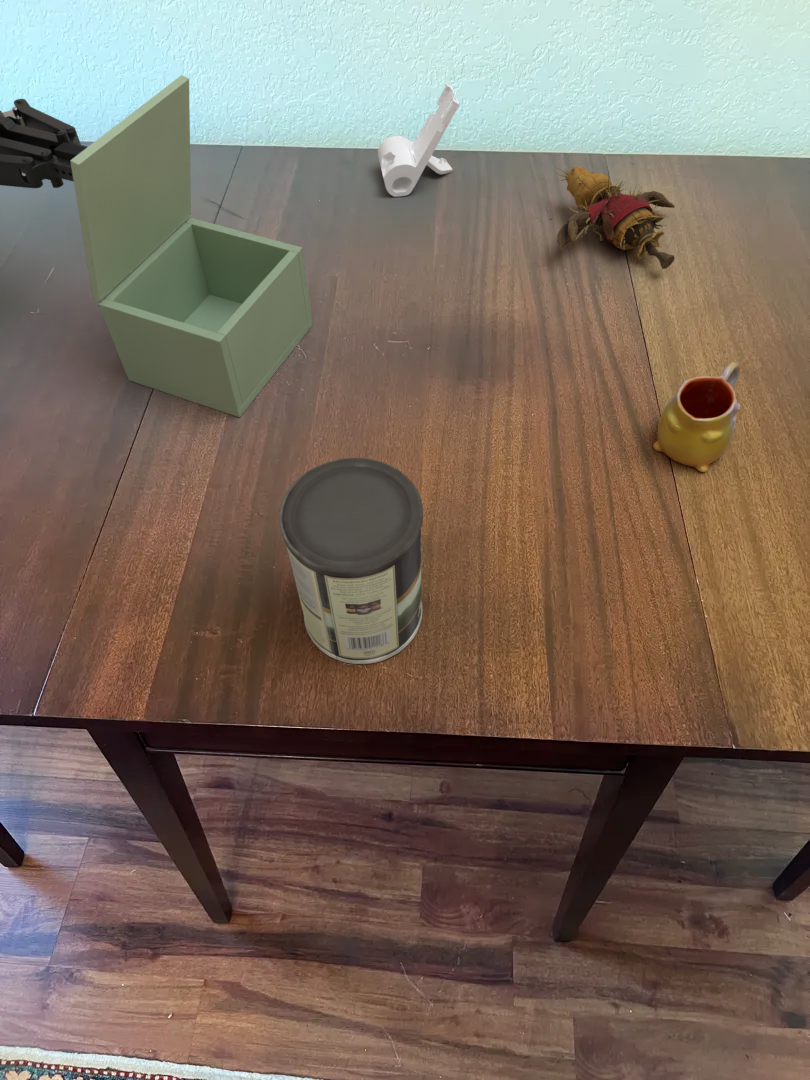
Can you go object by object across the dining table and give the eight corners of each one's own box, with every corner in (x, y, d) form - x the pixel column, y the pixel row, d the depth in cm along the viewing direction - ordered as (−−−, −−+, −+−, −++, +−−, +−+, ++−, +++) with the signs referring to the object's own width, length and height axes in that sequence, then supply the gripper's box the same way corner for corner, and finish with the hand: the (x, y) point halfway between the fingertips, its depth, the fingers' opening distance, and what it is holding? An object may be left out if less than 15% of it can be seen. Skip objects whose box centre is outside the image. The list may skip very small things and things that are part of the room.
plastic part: (378, 168, 108) (373, 79, 99) (449, 161, 109) (451, 72, 99) (385, 198, 104) (381, 107, 94) (458, 190, 104) (461, 99, 95)
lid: (189, 78, 71) (181, 74, 71) (78, 164, 63) (69, 160, 63) (191, 214, 84) (184, 211, 84) (99, 301, 76) (92, 297, 76)
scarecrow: (670, 207, 102) (688, 147, 96) (675, 282, 92) (695, 221, 86) (540, 196, 104) (549, 136, 97) (531, 268, 94) (540, 207, 88)
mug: (702, 483, 75) (724, 435, 69) (639, 448, 77) (656, 399, 72) (759, 414, 80) (784, 364, 74) (698, 384, 82) (718, 333, 77)
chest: (313, 324, 89) (302, 247, 81) (239, 417, 81) (219, 341, 72) (209, 294, 92) (188, 217, 84) (128, 380, 84) (97, 303, 76)
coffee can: (379, 543, 71) (372, 436, 60) (446, 624, 66) (452, 525, 55) (280, 598, 68) (252, 496, 56) (342, 688, 63) (326, 597, 51)
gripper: (-11, 132, 85) (169, 177, 79) (-101, 193, 78) (90, 247, 73) (-44, 57, 79) (149, 100, 73) (-144, 117, 72) (60, 169, 66)
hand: (119, 173), depth 73 cm, fingers closed
